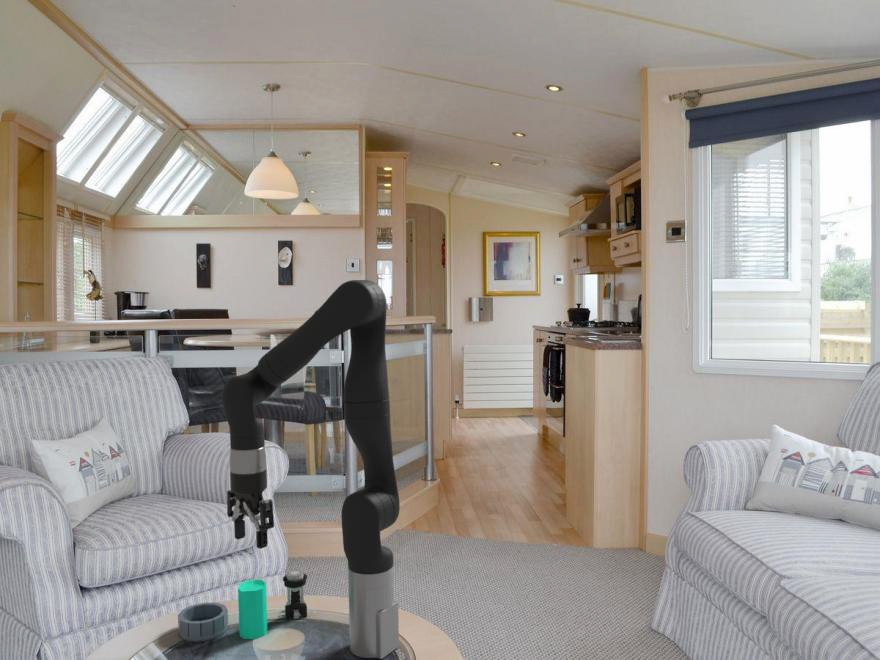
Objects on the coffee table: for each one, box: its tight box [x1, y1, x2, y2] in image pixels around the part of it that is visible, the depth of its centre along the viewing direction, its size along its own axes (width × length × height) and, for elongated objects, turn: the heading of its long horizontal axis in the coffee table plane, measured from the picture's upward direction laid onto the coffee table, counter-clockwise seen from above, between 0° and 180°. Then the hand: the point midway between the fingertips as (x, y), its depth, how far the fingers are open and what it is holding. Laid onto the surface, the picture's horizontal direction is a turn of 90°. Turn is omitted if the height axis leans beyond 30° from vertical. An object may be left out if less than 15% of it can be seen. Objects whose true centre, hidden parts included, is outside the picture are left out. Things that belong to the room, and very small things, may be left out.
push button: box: [277, 569, 308, 620], centre depth 169 cm, size 7×5×10 cm
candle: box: [237, 579, 268, 640], centre depth 162 cm, size 6×6×12 cm
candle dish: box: [177, 602, 229, 643], centre depth 163 cm, size 10×10×4 cm
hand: (250, 542), depth 161 cm, fingers open, 8 cm apart
